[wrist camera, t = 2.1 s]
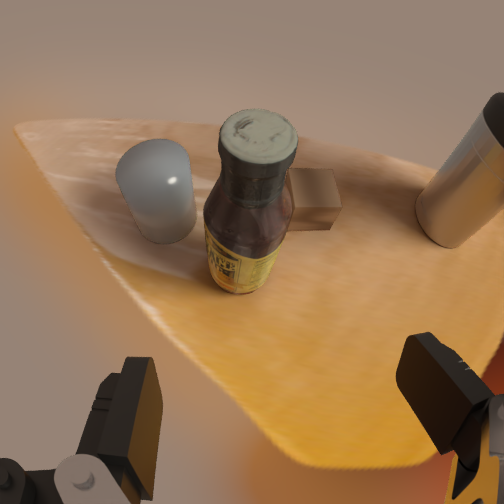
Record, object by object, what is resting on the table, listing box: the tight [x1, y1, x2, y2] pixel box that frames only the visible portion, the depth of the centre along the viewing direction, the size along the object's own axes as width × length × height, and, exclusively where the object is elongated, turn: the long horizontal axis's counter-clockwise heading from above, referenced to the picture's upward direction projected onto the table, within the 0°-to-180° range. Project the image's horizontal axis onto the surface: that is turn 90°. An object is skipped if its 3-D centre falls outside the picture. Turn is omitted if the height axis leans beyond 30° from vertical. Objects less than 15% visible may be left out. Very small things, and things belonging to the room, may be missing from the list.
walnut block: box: [285, 168, 342, 231], centre depth 35 cm, size 5×5×5 cm
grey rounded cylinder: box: [116, 139, 197, 244], centre depth 31 cm, size 7×7×9 cm
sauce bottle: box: [203, 109, 298, 294], centre depth 24 cm, size 7×6×20 cm
